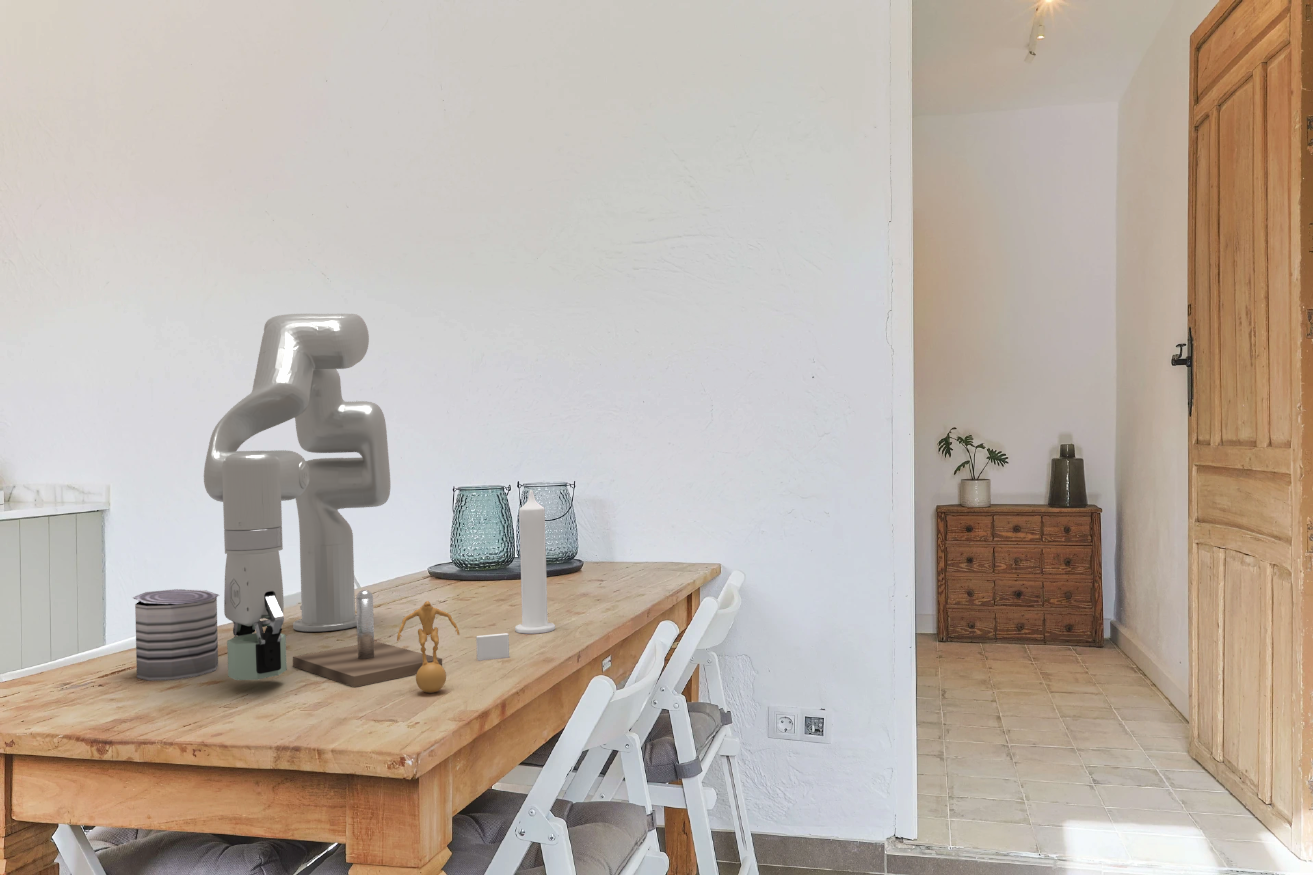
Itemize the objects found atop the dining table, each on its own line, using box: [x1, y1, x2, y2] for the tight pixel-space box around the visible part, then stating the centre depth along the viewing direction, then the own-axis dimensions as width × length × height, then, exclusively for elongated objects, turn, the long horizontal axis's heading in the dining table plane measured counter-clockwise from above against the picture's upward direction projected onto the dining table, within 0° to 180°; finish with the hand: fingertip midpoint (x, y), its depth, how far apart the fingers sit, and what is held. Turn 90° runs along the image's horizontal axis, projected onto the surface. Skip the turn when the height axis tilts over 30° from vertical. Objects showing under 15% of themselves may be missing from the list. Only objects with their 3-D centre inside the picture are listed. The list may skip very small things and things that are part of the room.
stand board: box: [292, 641, 443, 688], centre depth 144 cm, size 20×14×2 cm
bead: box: [226, 632, 288, 681], centre depth 134 cm, size 7×7×5 cm
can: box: [132, 588, 220, 682], centre depth 145 cm, size 11×11×12 cm
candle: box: [514, 489, 556, 635], centre depth 170 cm, size 7×7×25 cm
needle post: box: [355, 589, 375, 659], centre depth 144 cm, size 2×2×10 cm
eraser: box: [475, 632, 510, 662], centre depth 148 cm, size 1×5×4 cm, turn 109°
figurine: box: [396, 600, 460, 694], centre depth 129 cm, size 8×6×12 cm
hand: (257, 666), depth 134 cm, fingers closed on bead, 7 cm apart
